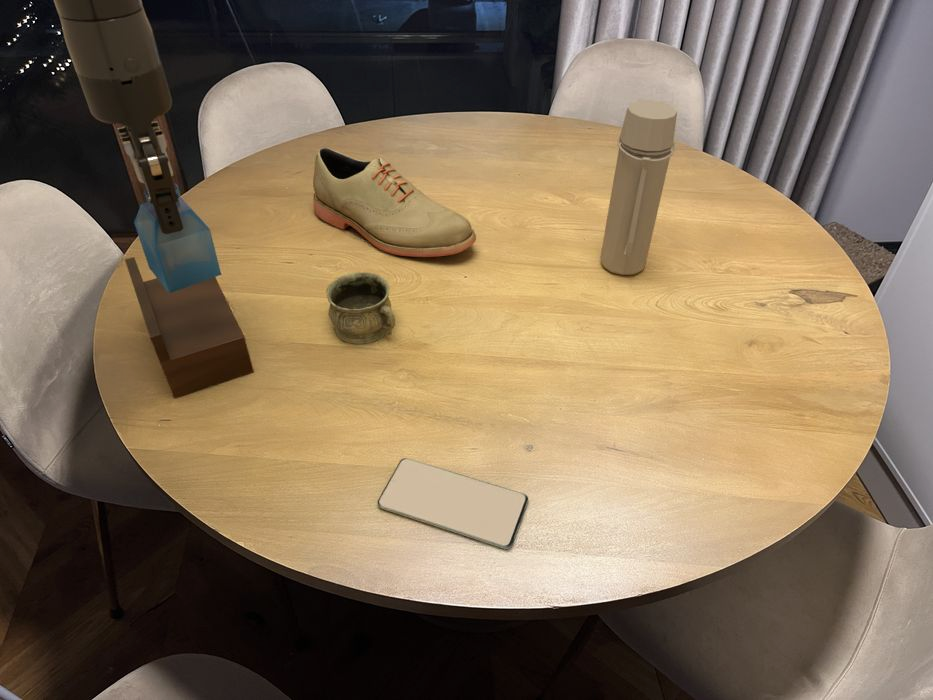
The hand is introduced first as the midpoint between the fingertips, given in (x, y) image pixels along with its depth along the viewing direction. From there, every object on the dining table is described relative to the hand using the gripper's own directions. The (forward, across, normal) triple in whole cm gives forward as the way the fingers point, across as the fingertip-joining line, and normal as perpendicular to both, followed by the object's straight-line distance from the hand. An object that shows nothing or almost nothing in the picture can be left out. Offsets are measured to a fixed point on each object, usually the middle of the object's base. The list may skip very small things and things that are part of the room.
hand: (168, 219), depth 75 cm
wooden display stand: (+21, -4, -1) cm, 22 cm away
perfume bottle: (+7, 0, 0) cm, 7 cm away
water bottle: (+21, +9, +62) cm, 66 cm away
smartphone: (+21, +35, +17) cm, 44 cm away
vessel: (+21, +3, +20) cm, 29 cm away
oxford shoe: (+21, -18, +34) cm, 44 cm away
